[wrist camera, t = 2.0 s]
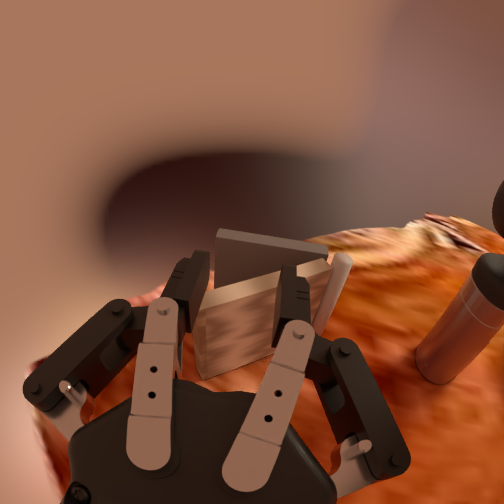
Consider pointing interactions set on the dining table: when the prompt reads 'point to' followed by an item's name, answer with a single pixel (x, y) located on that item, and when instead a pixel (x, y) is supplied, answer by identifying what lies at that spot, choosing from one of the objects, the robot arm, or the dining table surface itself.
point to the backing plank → (276, 264)
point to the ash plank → (245, 319)
